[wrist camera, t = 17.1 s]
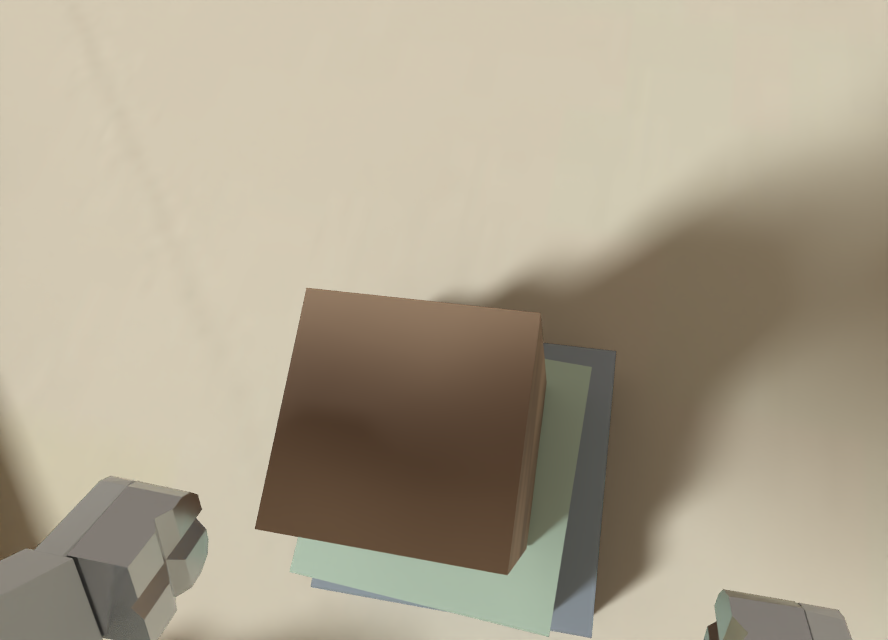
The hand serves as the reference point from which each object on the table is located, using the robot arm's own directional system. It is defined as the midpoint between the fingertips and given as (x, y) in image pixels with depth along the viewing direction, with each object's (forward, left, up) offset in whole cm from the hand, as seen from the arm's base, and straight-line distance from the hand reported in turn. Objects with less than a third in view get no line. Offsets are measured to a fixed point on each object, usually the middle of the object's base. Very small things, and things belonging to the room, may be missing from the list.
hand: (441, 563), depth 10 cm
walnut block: (+2, +2, -10) cm, 11 cm away
